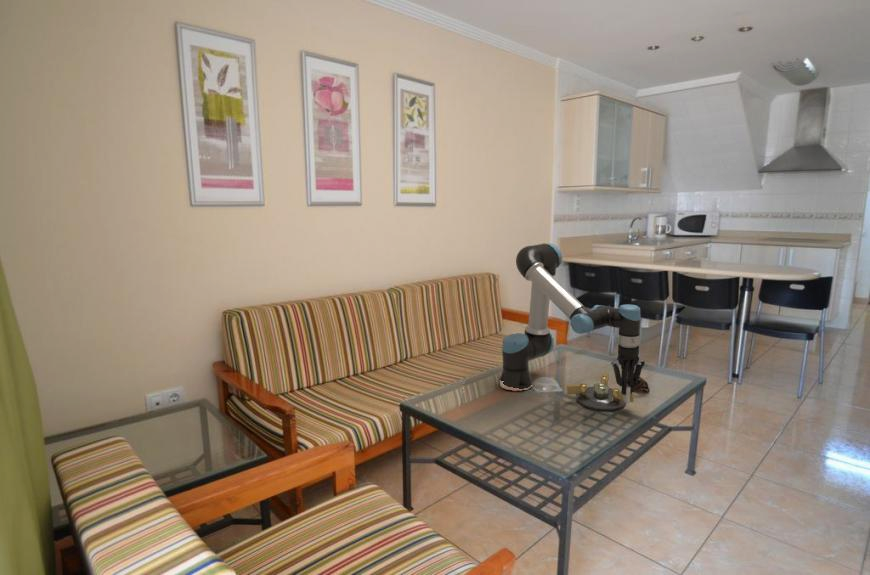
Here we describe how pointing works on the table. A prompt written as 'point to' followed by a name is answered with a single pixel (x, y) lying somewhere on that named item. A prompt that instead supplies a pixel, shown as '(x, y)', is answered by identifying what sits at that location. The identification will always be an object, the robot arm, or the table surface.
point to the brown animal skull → (640, 385)
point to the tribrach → (600, 399)
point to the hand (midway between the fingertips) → (626, 401)
